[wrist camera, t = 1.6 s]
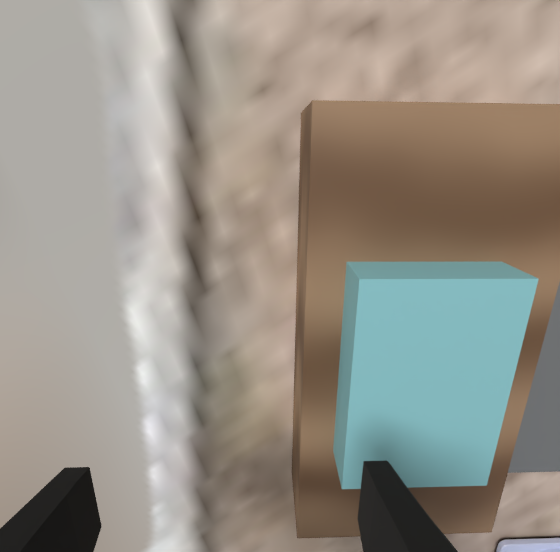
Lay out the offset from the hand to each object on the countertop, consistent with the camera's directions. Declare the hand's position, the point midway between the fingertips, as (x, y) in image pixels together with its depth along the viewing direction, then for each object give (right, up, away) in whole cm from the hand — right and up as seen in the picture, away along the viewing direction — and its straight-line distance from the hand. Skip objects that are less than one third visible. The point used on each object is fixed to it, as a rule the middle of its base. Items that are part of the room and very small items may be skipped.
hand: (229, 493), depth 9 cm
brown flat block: (+7, +3, +10) cm, 12 cm away
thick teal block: (+7, +2, +6) cm, 9 cm away
